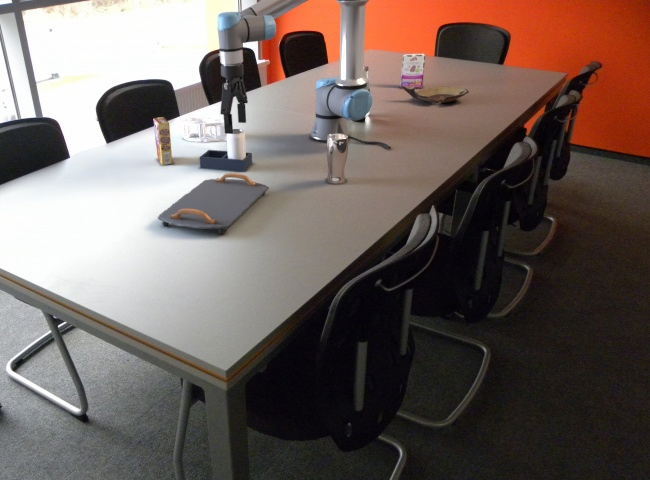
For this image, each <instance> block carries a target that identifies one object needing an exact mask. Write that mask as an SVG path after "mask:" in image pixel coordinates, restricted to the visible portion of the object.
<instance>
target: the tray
mask: <svg viewBox="0 0 650 480" xmlns="http://www.w3.org/2000/svg"><path fill="white" fill-rule="evenodd" d="M198 160H199V168H200V169H207V170H216V171H217V170H218V171H229V172H230V171H231V172H243V173H244V172H246V171H247V170H248V169H249V168H250V167H251V166H252V165H253V153H252V152H246V157H245V158H244V159H243V160H239V159H228V151H227V150H218V149H217V150H215V149H208V150H206V152H204V153H203V154H201V155H200V156H199V159H198Z"/></svg>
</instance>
